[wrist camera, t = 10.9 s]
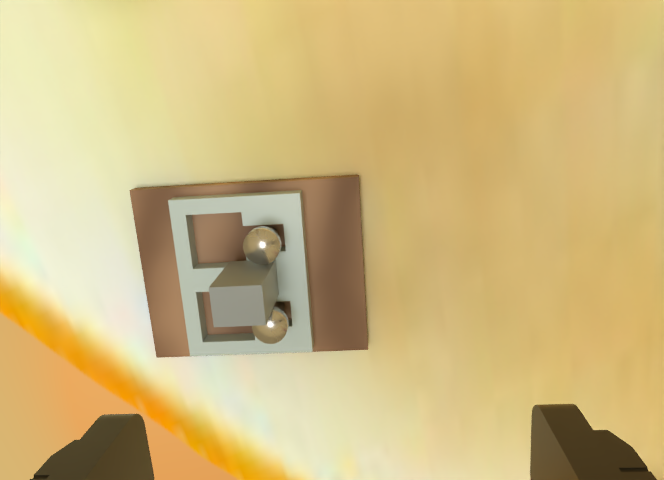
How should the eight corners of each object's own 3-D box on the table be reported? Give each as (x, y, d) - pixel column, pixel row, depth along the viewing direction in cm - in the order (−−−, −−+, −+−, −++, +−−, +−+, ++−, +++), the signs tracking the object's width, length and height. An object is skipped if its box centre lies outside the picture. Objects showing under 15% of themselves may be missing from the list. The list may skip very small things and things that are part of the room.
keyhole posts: (285, 216, 35) (277, 228, 32) (294, 321, 37) (288, 343, 34) (252, 218, 35) (241, 230, 32) (263, 322, 37) (253, 344, 34)
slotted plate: (301, 189, 34) (289, 208, 29) (313, 344, 37) (305, 390, 31) (174, 197, 35) (136, 217, 29) (195, 348, 38) (164, 395, 32)
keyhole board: (358, 174, 35) (358, 176, 34) (367, 343, 38) (367, 349, 37) (135, 187, 36) (129, 190, 35) (161, 351, 39) (156, 357, 38)
